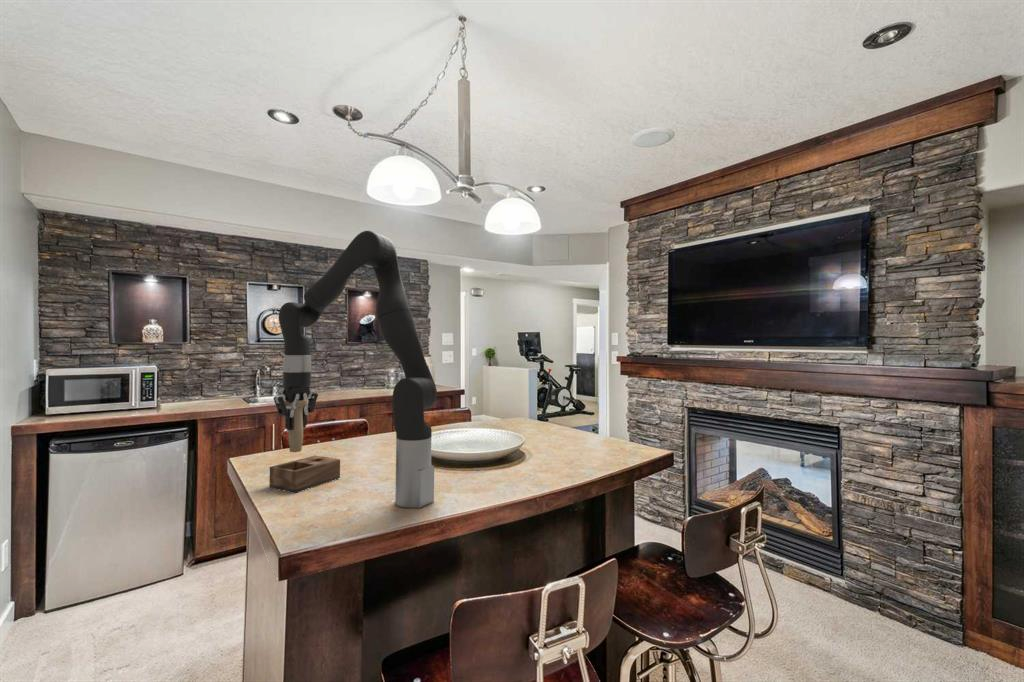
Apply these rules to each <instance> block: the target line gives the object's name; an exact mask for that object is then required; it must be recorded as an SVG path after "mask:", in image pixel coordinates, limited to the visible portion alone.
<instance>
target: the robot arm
mask: <svg viewBox="0 0 1024 682" xmlns="http://www.w3.org/2000/svg"><path fill="white" fill-rule="evenodd" d="M365 265H366V266H370V267H372V268H373V271H374V274H375V276H376V279H377V282H378V297H377V301H376V309H375V311H376V319H377V323H378V325H379V329H380V332H381V335H382V337H383V340H384V342H385V343H386V344H387V346H388V347H389V348H390V350H391V351H392V352H393V354H394V355H395V356H396V358H397V360H398V361H399V363H400V364H401V365H400V366H401V367H402V370H403V373H404V378H402V379H401V378H400V380H399V381H398V382H396V384H395V385H394V387H393V392H392V399H391V400H392V402H391V403H392V423H393V428H394V431H395V499H394V501H395V502H394V503H395V505H396V506H398V507H400V508H410V509H411V508H416V509H417V508H418V509H420V508H423V507H425V506H426V505H430V504H431V503H433V502H434V501H435V466H434V465H432V437H433V436H432V434H433V433H432V431H433V430H432V426H431V425H429V424H427V423H426V421H425V410H428V409H430V408H432V407H433V406H434V405H435V403H436V401H437V398H438V391H437V389H438V388H437V387H436V386H437V385H436V384H435V381H434V378H433V375H432V373H431V371H430V370H431V369H430V368H429V365H428V363H427V360H426V358H425V355H424V352H423V349H422V345H421V341H420V338H419V335H418V332H417V328H416V325H415V324H416V323H415V321H414V317H413V314H412V311H411V307H410V305H409V304H410V303H409V300H408V298H407V293H406V291H405V287H404V284H403V280H402V277H401V271H400V266H399V259H398V254H397V250H396V246H395V245H394V243H393V241H392V240H391V239H390V238H388V237H387V236H386V235H382V234H380V233H377V232H375V231H371V230H364V231H361V232H360V233H358V234H357V235H356V236H355V237H354V238H353V239H351V242H350V243H349V244H348V245H347V247H346V248H345V250H344V251H343V252H342V253H341V255H340V256H339V257H338V258H337V260H336V261H335V262H334V264H333V265H332V266H331V267H330V268H329V269H328V270H327V271H326V273H325V274H324V275H323V276H321V277H320V278H319V279H318V280H317V281H316V282H314V283H313V284H312V285H311V286H310V287H309V288H308V289H307V290H306V291H305V293H304V294H303V299H304V301H305V302H304V303H300V302H299V303H298V302H293V301H292V302H291V301H289V302H285V303H283V305H281V307H280V309H279V311H278V322H279V326H280V329H281V334H282V338H283V340H284V348H283V349H284V354H283V355H284V356H283V362H282V387H283V391H282V394H280V395H278V396H277V395H275V396H274V397H273V402H274V404H275V405H274V406H275V407H276V410H277V413H278V415H279V416H282V417H284V418H285V420H284V422H285V423H284V424H285V425H284V428H285V430H287V431H289V430H293V429H294V417H293V415H294V411H295V409H296V405H297V403H296V401H301V400H308V405H306V406H305V407H303V429H305V428H306V427H307V424H308V415H309V414H310V413H313V412H314V409H315V406H316V404H317V400H318V397H319V394H318V393H317V392H312V391H311V389H310V387H311V385H312V359H311V348H312V347H311V338H310V337H309V336H308V335H305V334H303V333H302V329H301V328H308V327H311V326H313V325H314V324H316V322H318V320H319V319H320V317H321V316H322V315H323V313H324V311H325V309H326V308H327V307H329V306H330V304H332V303H333V302H335V300H337V298H339V297H340V296H341V294H342V293H343V291H344V289H345V288H346V285H347V283H348V281H349V279H350V277H351V276H352V275H353V274H354V273H355V272H357V270H359V269H360V268H361V267H363V266H365ZM285 400H286V401H288V402H289V403H292V402H293V403H292V406H286V405H285Z"/></svg>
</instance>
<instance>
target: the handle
mask: <svg viewBox="0 0 1024 682" xmlns="http://www.w3.org/2000/svg"><path fill="white" fill-rule="evenodd" d="M292 403H293V402H292ZM292 403H289V402H288V401H286V400H285V405H286V406H292ZM296 403H297V405H296V409H295V411H294V415H293V417H294V429H293V430H287V431H288V446H289V452H290V453H297V452H299V453H300V452H301V451H302V450H303V448H302V447H303V446H302V445H303V442H304V428H303V407H305V406H306V405H308V399H307V400H301V401H296Z"/></svg>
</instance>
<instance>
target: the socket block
mask: <svg viewBox="0 0 1024 682" xmlns="http://www.w3.org/2000/svg"><path fill="white" fill-rule="evenodd" d="M338 478H341V458H340V459H339V458H334V457H328V456H322V455H312V456H308V457H304V458H299V459H297V460H296V459H295V460H292V461H288V462H284V463H280V464H276V465H273V466H269V487H270V489H274V488H275V489H274V490H278V489H280V490H279V491H283V490H285V492H288V491H289V492H288V493H292V492H293V494H297V493H300V492H299V491H301V492H303V491H302V490H304V491H306V490H305V489H307V488H310V489H312V488H311V487H313V488H315V487H314V486H316V487H318V486H317V485H319V486H321V485H320V484H322V485H324V484H323V483H325V484H327V483H326V482H328V483H330V482H329V481H331V482H333V481H332V480H334V481H336V480H335V479H337V480H339V479H338ZM307 490H308V489H307Z"/></svg>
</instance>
